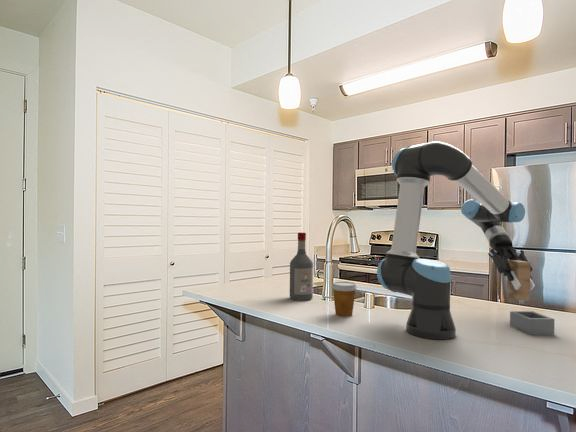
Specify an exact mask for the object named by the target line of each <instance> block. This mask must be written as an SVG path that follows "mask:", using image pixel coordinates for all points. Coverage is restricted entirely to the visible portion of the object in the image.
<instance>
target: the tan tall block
mask: <svg viewBox="0 0 576 432" xmlns="http://www.w3.org/2000/svg"><path fill="white" fill-rule="evenodd" d="M508 263H509V266H510V270H511V271H513V272H514V273H515V275H516V277H517V279H518V281H519V282H520V284H521V286H520V288H519V289H518V290H515V288H514V286H513V284H512V282H511V281H509V279H508V278H507V282H506V283H507V284H506V285H507V286H506V289H507V291H506V297H507V298H509V299H511V300H514V301H517V302H518V301H523V302H526V301H528V302H529V301H530V295H531V290H530V275H531V272H530V265H531V262H530V261H528V262H526V261H520V260H509V259H508ZM511 271H510V272H511Z"/></svg>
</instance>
